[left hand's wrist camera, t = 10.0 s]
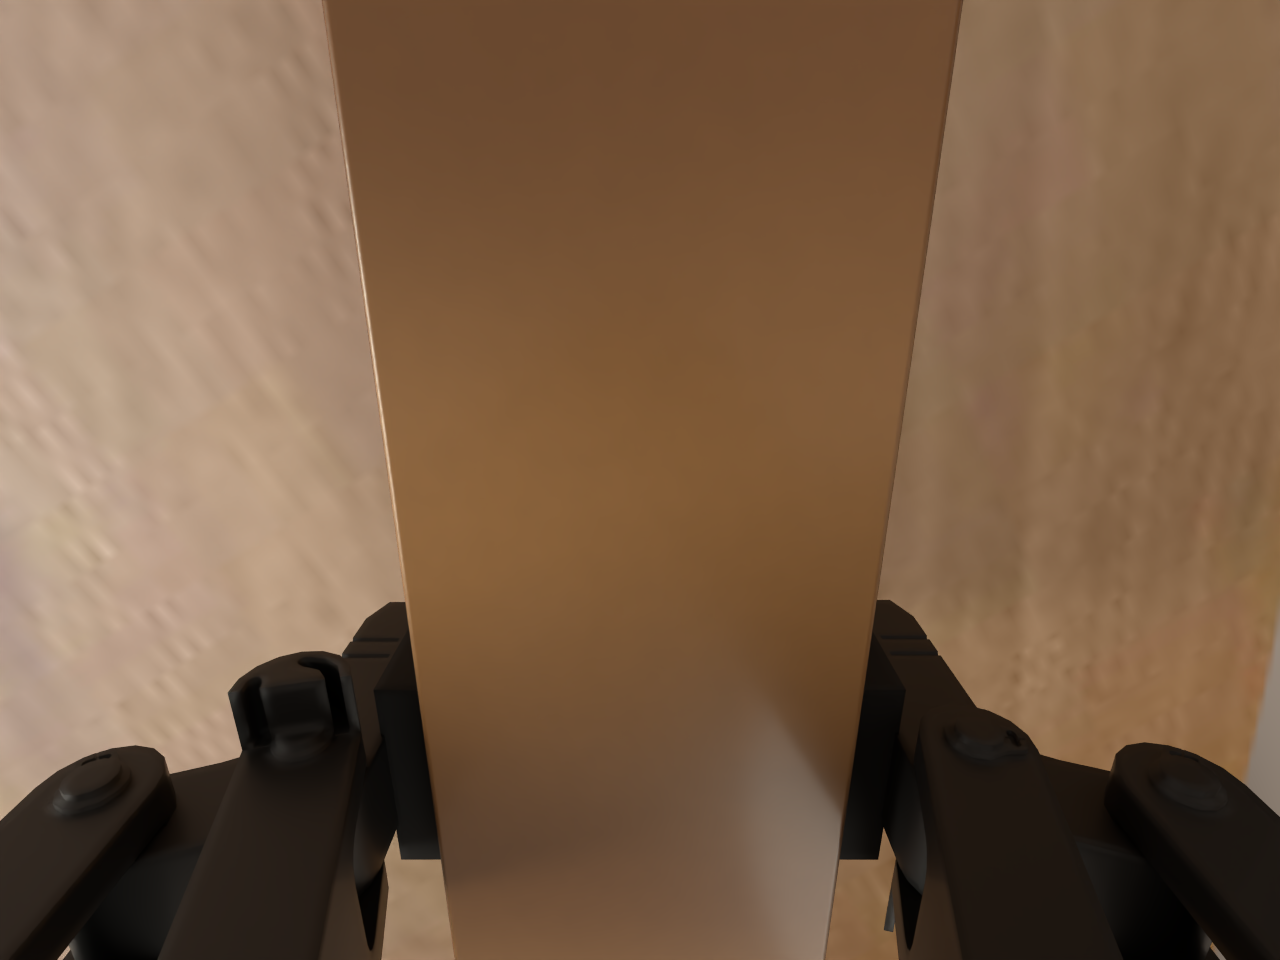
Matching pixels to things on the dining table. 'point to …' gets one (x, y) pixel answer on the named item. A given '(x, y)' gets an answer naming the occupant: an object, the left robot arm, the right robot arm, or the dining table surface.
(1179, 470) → the dining table surface
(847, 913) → the dining table surface
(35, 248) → the dining table surface
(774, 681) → the post
